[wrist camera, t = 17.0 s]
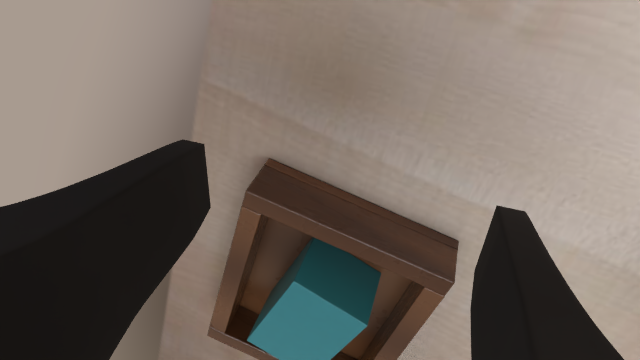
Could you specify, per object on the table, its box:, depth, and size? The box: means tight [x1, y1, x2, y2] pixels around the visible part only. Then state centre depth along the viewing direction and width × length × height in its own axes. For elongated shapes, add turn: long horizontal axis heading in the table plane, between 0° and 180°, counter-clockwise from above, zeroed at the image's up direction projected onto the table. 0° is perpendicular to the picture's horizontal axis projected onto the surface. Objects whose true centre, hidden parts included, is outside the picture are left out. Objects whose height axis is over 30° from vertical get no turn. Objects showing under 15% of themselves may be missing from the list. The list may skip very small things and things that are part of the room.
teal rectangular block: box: [247, 237, 381, 360], centre depth 25 cm, size 4×6×4 cm, turn 152°
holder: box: [207, 159, 458, 360], centre depth 26 cm, size 12×10×3 cm
